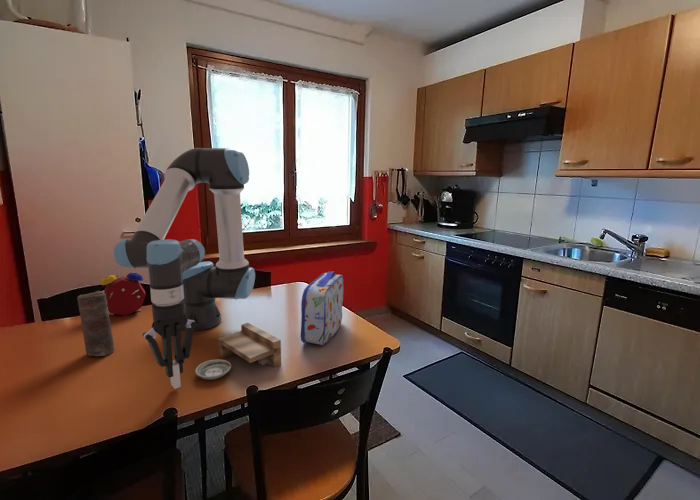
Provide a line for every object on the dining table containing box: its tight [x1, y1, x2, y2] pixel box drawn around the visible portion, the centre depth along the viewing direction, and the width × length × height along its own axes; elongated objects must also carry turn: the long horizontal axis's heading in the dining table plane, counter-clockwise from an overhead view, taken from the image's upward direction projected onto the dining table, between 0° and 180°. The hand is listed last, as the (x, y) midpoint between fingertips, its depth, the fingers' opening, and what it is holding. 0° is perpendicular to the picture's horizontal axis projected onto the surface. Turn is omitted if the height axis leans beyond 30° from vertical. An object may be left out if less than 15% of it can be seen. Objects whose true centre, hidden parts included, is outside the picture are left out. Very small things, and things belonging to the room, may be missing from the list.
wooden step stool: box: [218, 322, 282, 368], centre depth 113 cm, size 18×10×8 cm, turn 47°
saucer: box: [194, 358, 232, 380], centre depth 105 cm, size 10×10×2 cm
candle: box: [77, 290, 115, 357], centre depth 114 cm, size 8×7×20 cm
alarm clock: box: [100, 265, 146, 317], centre depth 146 cm, size 15×9×20 cm, turn 121°
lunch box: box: [299, 271, 344, 346], centre depth 131 cm, size 28×10×22 cm, turn 168°
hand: (175, 385), depth 97 cm, fingers closed
